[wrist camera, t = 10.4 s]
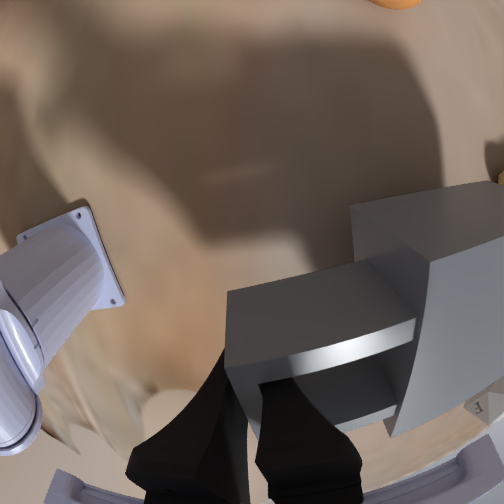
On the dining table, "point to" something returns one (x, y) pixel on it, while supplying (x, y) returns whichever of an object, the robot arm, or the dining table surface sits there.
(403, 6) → the egg
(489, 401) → the die
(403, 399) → the grey stepped block
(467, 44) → the dining table surface
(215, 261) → the dining table surface
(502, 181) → the croissant
